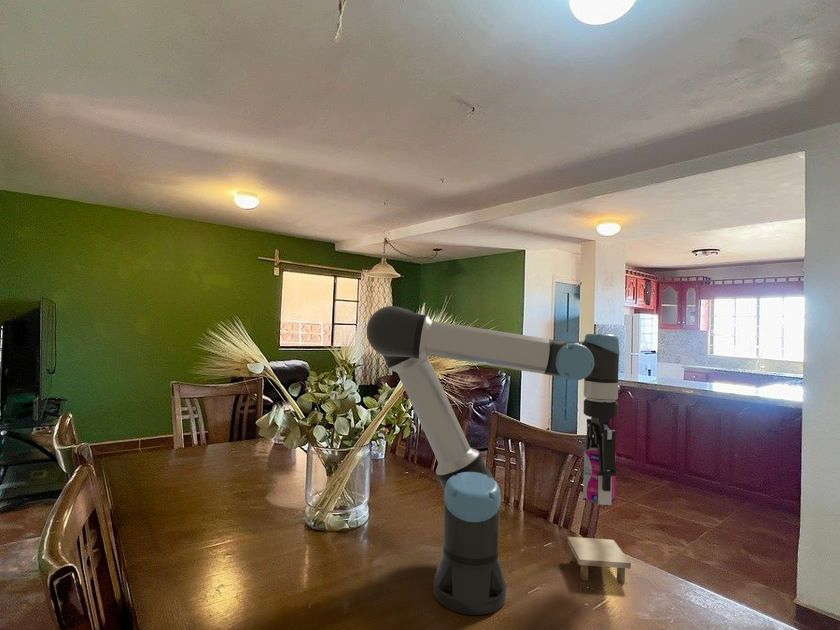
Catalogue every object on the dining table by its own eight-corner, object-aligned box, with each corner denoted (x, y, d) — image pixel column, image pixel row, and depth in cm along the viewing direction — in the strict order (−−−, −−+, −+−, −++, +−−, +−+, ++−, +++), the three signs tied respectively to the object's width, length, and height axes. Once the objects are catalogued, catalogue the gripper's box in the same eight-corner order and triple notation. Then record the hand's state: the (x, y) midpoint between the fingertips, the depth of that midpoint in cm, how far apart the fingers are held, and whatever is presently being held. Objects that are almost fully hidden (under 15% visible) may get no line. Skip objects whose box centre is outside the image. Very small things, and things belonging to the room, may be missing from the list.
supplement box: (582, 500, 105) (583, 450, 106) (590, 493, 110) (591, 446, 110) (607, 507, 102) (608, 455, 102) (615, 500, 106) (616, 451, 107)
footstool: (579, 582, 101) (579, 559, 101) (567, 557, 112) (567, 536, 112) (630, 586, 100) (630, 563, 100) (613, 560, 111) (613, 539, 111)
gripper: (634, 407, 96) (632, 516, 95) (603, 393, 116) (601, 483, 116) (597, 406, 97) (595, 514, 96) (573, 392, 117) (571, 481, 116)
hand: (598, 497), depth 106 cm, fingers closed on supplement box, 8 cm apart
